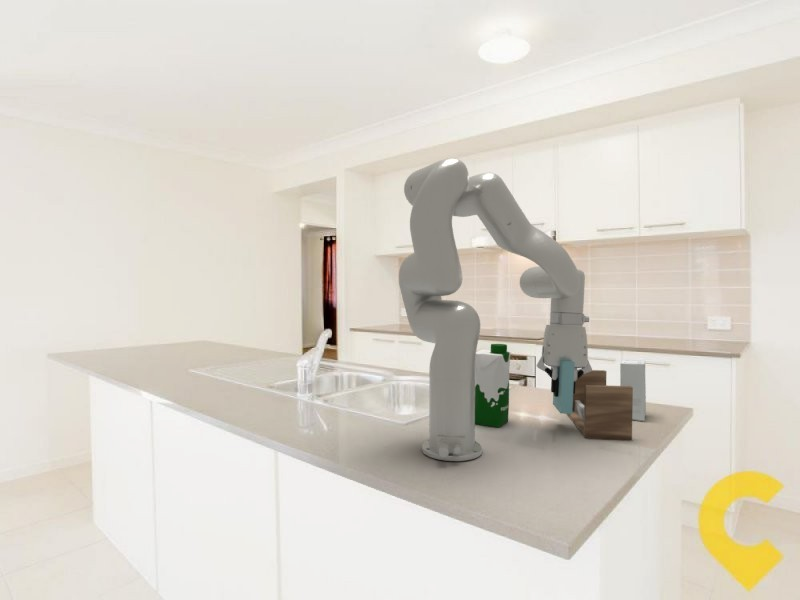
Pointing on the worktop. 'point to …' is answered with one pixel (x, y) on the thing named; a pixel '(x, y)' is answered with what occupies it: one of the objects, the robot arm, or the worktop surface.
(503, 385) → the milk carton
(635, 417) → the skincare box
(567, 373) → the door panel
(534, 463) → the worktop surface
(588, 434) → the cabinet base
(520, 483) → the worktop surface
